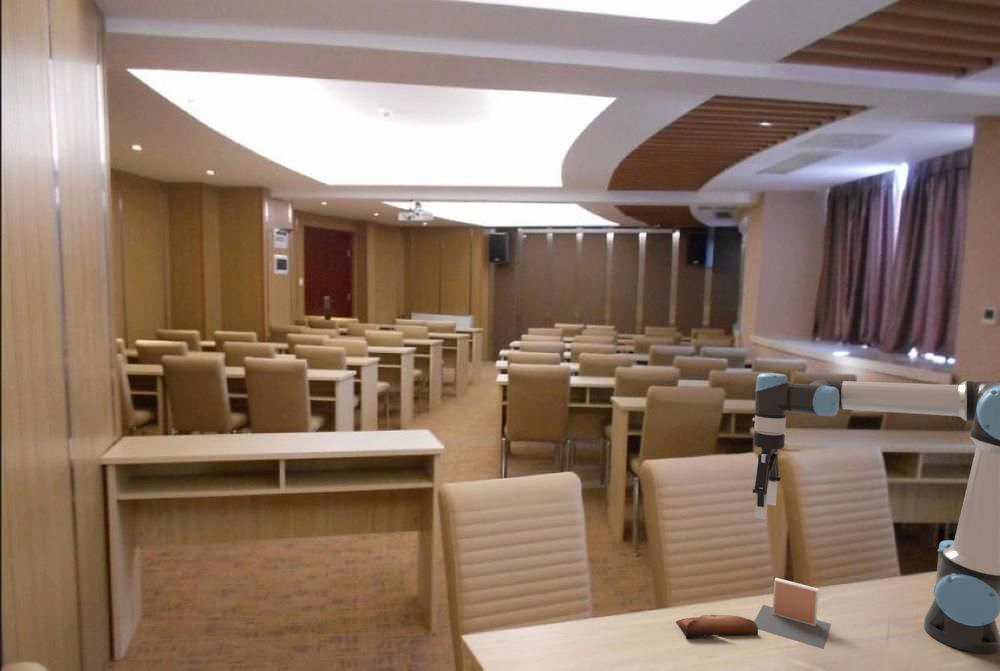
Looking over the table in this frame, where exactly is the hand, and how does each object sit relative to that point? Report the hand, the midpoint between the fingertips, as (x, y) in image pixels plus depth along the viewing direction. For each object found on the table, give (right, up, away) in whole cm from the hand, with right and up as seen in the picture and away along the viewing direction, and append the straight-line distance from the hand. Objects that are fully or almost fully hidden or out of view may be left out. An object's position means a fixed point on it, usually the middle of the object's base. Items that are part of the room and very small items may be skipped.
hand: (765, 511), depth 169 cm
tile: (+4, -25, -8) cm, 27 cm away
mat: (+2, -26, -11) cm, 28 cm away
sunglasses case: (-18, -26, -13) cm, 34 cm away
